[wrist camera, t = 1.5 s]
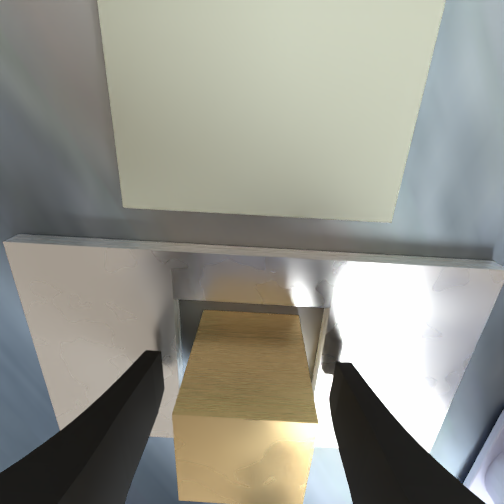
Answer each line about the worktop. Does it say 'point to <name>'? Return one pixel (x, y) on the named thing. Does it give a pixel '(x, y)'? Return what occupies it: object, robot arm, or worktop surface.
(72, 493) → the robot arm
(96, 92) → the worktop surface
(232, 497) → the light wood cube
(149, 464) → the worktop surface
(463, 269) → the rail plate
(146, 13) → the tile
